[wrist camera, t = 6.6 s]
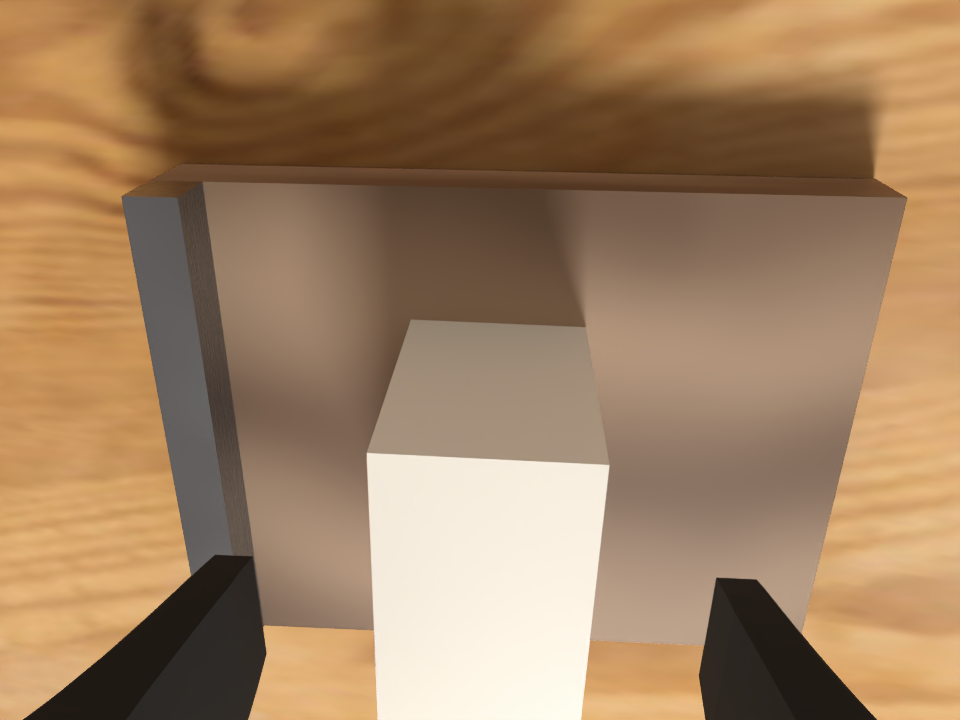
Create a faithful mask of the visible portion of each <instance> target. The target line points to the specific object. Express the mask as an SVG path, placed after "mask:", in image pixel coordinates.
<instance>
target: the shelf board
mask: <svg viewBox="0 0 960 720" xmlns="http://www.w3.org/2000/svg"><path fill="white" fill-rule="evenodd" d="M152 181H196V182H202V183H203V190H204V197H205V204H206V211H207V219H208V226H209V233H210V240H211V247H212V255H213V262H214V269H215V276H216V283H217V291H218V298H219V305H220V312H221V319H222V327H223V334H224V341H225V348H226V355H227V363H228V370H229V377H230V384H231V391H232V399H233V406H234V413H235V420H236V427H237V435H238V442H239V449H240V456H241V463H242V471H243V478H244V485H245V492H246V499H247V507H248V514H249V521H250V528H251V535H252V543H253V550H254V557H255V564H256V571H257V579H258V586H259V593H260V600H261V607H262V615H263V622H264V625H269V626H291V627H313V628H334V629H356V630H374V628H373V604H372V580H371V557H370V533H369V509H368V485H367V461H366V458H367V451H368V448H369V445H370V442H371V439H372V436H373V433H374V430H375V427H376V423H377V420H378V417H379V414H380V411H381V408H382V405H383V402H384V399H385V396H386V393H387V390H388V387H389V384H390V381H391V378H392V375H393V372H394V369H395V366H396V363H397V360H398V357H399V354H400V351H401V348H402V345H403V342H404V339H405V336H406V333H407V330H408V327H409V324H410V321H411V320H433V321H456V322H479V323H502V324H525V325H548V326H571V327H586V330H587V336H588V342H589V348H590V354H591V359H592V365H593V371H594V377H595V383H596V389H597V395H598V400H599V406H600V412H601V418H602V424H603V430H604V436H605V441H606V447H607V453H608V459H609V474H608V483H607V492H606V501H605V510H604V518H603V527H602V536H601V545H600V554H599V563H598V572H597V581H596V589H595V598H594V607H593V616H592V625H591V634H590V640H595V641H617V642H639V643H660V644H682V645H704V644H705V639H706V633H707V627H708V621H709V616H710V610H711V604H712V599H713V593H714V587H715V582H716V578H738V579H757V580H758V581H759V582H760V584H761V585H762V586H763V587H764V588H765V589H766V591H767V592H768V593H769V594H770V596H771V597H772V598H773V599H774V601H775V602H776V603H777V604H778V606H779V607H780V608H781V609H782V611H783V612H784V613H785V614H786V616H787V617H788V618H789V619H790V620H791V622H792V623H793V624H794V625H795V627H796V628H797V629H798V630H799V632H800V633H801V634H802V629H803V625H804V621H805V617H806V613H807V609H808V605H809V601H810V597H811V592H812V588H813V584H814V580H815V576H816V572H817V568H818V564H819V559H820V555H821V551H822V547H823V543H824V539H825V535H826V531H827V527H828V522H829V518H830V514H831V510H832V506H833V502H834V498H835V494H836V490H837V485H838V481H839V477H840V473H841V469H842V465H843V461H844V457H845V452H846V448H847V444H848V440H849V436H850V432H851V428H852V424H853V420H854V415H855V411H856V407H857V403H858V399H859V395H860V391H861V387H862V382H863V378H864V374H865V370H866V366H867V362H868V358H869V354H870V350H871V345H872V341H873V337H874V333H875V329H876V325H877V321H878V317H879V313H880V308H881V304H882V300H883V296H884V292H885V288H886V284H887V280H888V275H889V271H890V267H891V263H892V259H893V255H894V251H895V247H896V243H897V238H898V234H899V230H900V226H901V222H902V218H903V214H904V210H905V206H906V201H907V197H905V196H904V195H902V194H900V193H898V192H897V191H895V190H893V189H892V188H890V187H888V186H886V185H885V184H883V183H881V182H880V181H878V180H876V179H859V178H813V177H768V176H722V175H677V174H631V173H586V172H540V171H494V170H449V169H403V168H358V167H312V166H267V165H221V164H179V165H177V166H176V167H174V168H172V169H170V170H168V171H167V172H165V173H163V174H161V175H159V176H157V177H156V178H154V179H152Z"/></svg>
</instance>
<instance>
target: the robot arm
mask: <svg viewBox="0 0 960 720" xmlns="http://www.w3.org/2000/svg"><path fill="white" fill-rule="evenodd" d="M265 657H266V647H265V639H264V632H263V625H262V618H261V611H260V604H259V597H258V590H257V583H256V576H255V568H254V561H253V556H233V555H214V556H213V557H212V558H211V559H210V560H208V561H207V562H206V563H205V564H204V565H203V566H202V567H201V568H199V569H198V570H197V571H196V572H195V573H194V574H193V575H192V576H191V577H190V578H189V579H188V580H187V581H185V582H184V583H183V584H182V585H181V586H180V587H179V588H178V589H177V590H176V591H175V592H174V593H173V594H172V595H171V596H169V597H168V598H167V599H166V600H165V601H164V602H163V603H162V604H161V605H160V606H159V607H158V608H157V609H155V610H154V611H153V612H152V613H151V614H150V615H149V616H148V617H147V618H146V619H145V620H143V621H142V622H141V623H140V624H139V625H138V626H137V627H136V628H134V629H133V630H132V631H131V632H130V633H129V634H128V635H127V636H126V637H124V638H123V639H122V640H121V641H120V642H119V643H118V644H117V645H115V646H114V647H113V648H112V649H111V650H110V651H109V652H107V653H106V654H105V655H104V656H103V657H102V658H100V659H99V660H98V661H97V662H96V663H94V664H93V665H92V666H91V667H90V668H88V669H87V670H86V671H85V672H83V673H82V674H81V675H80V676H79V677H77V678H76V679H75V680H74V681H73V682H71V683H70V684H69V685H68V686H66V687H65V688H64V689H63V690H62V691H60V692H59V693H58V694H57V695H55V696H54V697H53V698H51V699H50V700H49V701H48V702H46V703H45V704H44V705H42V706H41V707H40V708H38V709H37V710H36V711H34V712H33V713H31V714H30V715H29V716H27V717H26V718H25V719H23V720H248V718H249V715H250V712H251V708H252V705H253V701H254V698H255V694H256V691H257V687H258V684H259V680H260V676H261V672H262V669H263V665H264V661H265ZM699 679H700V686H701V693H702V700H703V706H704V713H705V719H706V720H877V719H876V718H875V717H874V716H873V715H872V714H871V713H870V712H869V711H868V710H867V708H866V707H865V706H864V705H863V704H862V703H861V702H860V701H859V700H858V699H857V698H856V697H855V695H854V694H853V693H852V692H851V691H850V690H849V689H848V688H847V686H846V685H845V684H844V683H843V682H842V681H841V680H840V678H839V677H838V676H837V675H836V674H835V673H834V672H833V671H832V669H831V668H830V667H829V666H828V665H827V664H826V663H825V661H824V660H823V659H822V658H821V657H820V656H819V654H818V653H817V652H816V651H815V650H814V648H813V647H812V646H811V645H810V644H809V642H808V641H807V640H806V639H805V638H804V636H803V635H802V634H801V633H800V632H799V630H798V629H797V628H796V627H795V625H794V624H793V623H792V622H791V620H790V619H789V618H788V617H787V616H786V614H785V613H784V612H783V611H782V609H781V608H780V607H779V606H778V604H777V603H776V602H775V601H774V599H773V598H772V597H771V596H770V594H769V593H768V592H767V591H766V589H765V588H764V587H763V586H762V585H761V584H760V582H759V581H758V580H757V579H738V578H716V582H715V587H714V593H713V599H712V604H711V610H710V616H709V621H708V627H707V633H706V639H705V644H704V650H703V656H702V661H701V667H700V673H699Z"/></svg>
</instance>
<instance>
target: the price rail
mask: <svg viewBox="0 0 960 720" xmlns="http://www.w3.org/2000/svg"><path fill="white" fill-rule="evenodd" d="M121 197H122V202H123V207H124V213H125V218H126V224H127V229H128V235H129V240H130V245H131V251H132V256H133V262H134V267H135V273H136V278H137V284H138V289H139V294H140V300H141V305H142V311H143V316H144V322H145V327H146V332H147V338H148V343H149V349H150V354H151V360H152V365H153V370H154V376H155V381H156V387H157V392H158V398H159V403H160V409H161V414H162V419H163V425H164V430H165V436H166V441H167V447H168V452H169V457H170V463H171V468H172V474H173V479H174V485H175V490H176V496H177V501H178V506H179V512H180V517H181V523H182V528H183V534H184V539H185V544H186V550H187V555H188V561H189V566H190V572H191V576H192V575H193V574H194V573H195V572H196V571H197V570H198V569H199V568H201V567H202V566H203V565H204V564H205V563H206V562H207V561H208V560H210V559H211V558H212V557H213V556H214V555H233V556H253V561H254V568H255V576H256V583H257V590H258V597H259V604H260V611H261V618H262V625H263V626H264V622H263V615H262V607H261V600H260V593H259V586H258V579H257V571H256V564H255V557H254V550H253V543H252V535H251V528H250V521H249V514H248V507H247V499H246V492H245V485H244V478H243V471H242V463H241V456H240V449H239V442H238V435H237V427H236V420H235V413H234V406H233V399H232V391H231V384H230V377H229V370H228V363H227V355H226V348H225V341H224V334H223V327H222V319H221V312H220V305H219V298H218V291H217V283H216V276H215V269H214V262H213V255H212V247H211V240H210V233H209V226H208V219H207V211H206V204H205V197H204V190H203V183H202V182H196V181H152V180H150V181H148V182H146V183H145V184H143V185H141V186H139V187H137V188H136V189H134V190H132V191H130V192H128V193H126V194H125V195H123V196H121Z"/></svg>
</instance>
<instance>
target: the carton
mask: <svg viewBox="0 0 960 720" xmlns="http://www.w3.org/2000/svg"><path fill="white" fill-rule="evenodd" d="M366 461H367V485H368V509H369V533H370V557H371V580H372V604H373V628H374V652H375V667H376V688H377V712H378V720H581V714H582V705H583V696H584V687H585V678H586V669H587V660H588V651H589V643H590V634H591V625H592V616H593V607H594V598H595V589H596V581H597V572H598V563H599V554H600V545H601V536H602V527H603V518H604V510H605V501H606V492H607V483H608V474H609V459H608V453H607V447H606V441H605V436H604V430H603V424H602V418H601V412H600V406H599V400H598V395H597V389H596V383H595V377H594V371H593V365H592V359H591V354H590V348H589V342H588V336H587V330H586V327H571V326H548V325H525V324H502V323H479V322H456V321H433V320H411V321H410V324H409V327H408V330H407V333H406V336H405V339H404V342H403V345H402V348H401V351H400V354H399V357H398V360H397V363H396V366H395V369H394V372H393V375H392V378H391V381H390V384H389V387H388V390H387V393H386V396H385V399H384V402H383V405H382V408H381V411H380V414H379V417H378V420H377V423H376V427H375V430H374V433H373V436H372V439H371V442H370V445H369V448H368V451H367V458H366Z"/></svg>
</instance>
